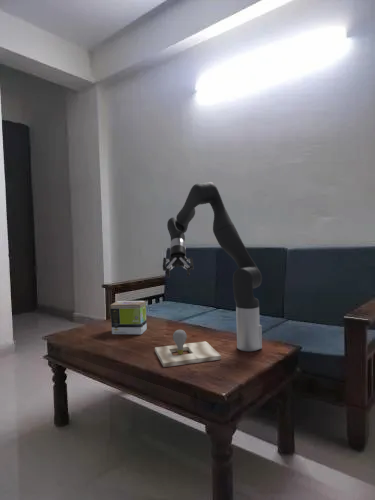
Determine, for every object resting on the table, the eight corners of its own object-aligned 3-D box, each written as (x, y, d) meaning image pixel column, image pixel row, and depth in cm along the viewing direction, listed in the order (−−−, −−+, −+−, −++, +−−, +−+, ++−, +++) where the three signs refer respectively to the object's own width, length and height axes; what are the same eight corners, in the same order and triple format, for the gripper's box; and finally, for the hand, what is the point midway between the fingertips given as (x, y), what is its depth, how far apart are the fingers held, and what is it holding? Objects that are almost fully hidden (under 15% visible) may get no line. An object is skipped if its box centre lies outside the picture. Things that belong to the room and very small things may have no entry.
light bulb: (176, 351, 145) (175, 327, 144) (189, 352, 143) (188, 328, 142) (171, 356, 140) (170, 331, 139) (184, 357, 138) (184, 332, 137)
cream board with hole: (206, 344, 152) (205, 341, 152) (220, 359, 135) (220, 355, 135) (155, 351, 146) (154, 347, 146) (163, 367, 129) (163, 363, 129)
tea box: (147, 329, 179) (146, 300, 178) (141, 335, 169) (139, 304, 168) (118, 328, 182) (117, 300, 181) (111, 334, 172) (109, 304, 171)
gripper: (162, 244, 170) (162, 271, 159) (192, 243, 170) (194, 270, 159) (163, 255, 175) (163, 281, 165) (192, 254, 176) (194, 280, 165)
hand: (178, 276), depth 162 cm, fingers open, 8 cm apart
